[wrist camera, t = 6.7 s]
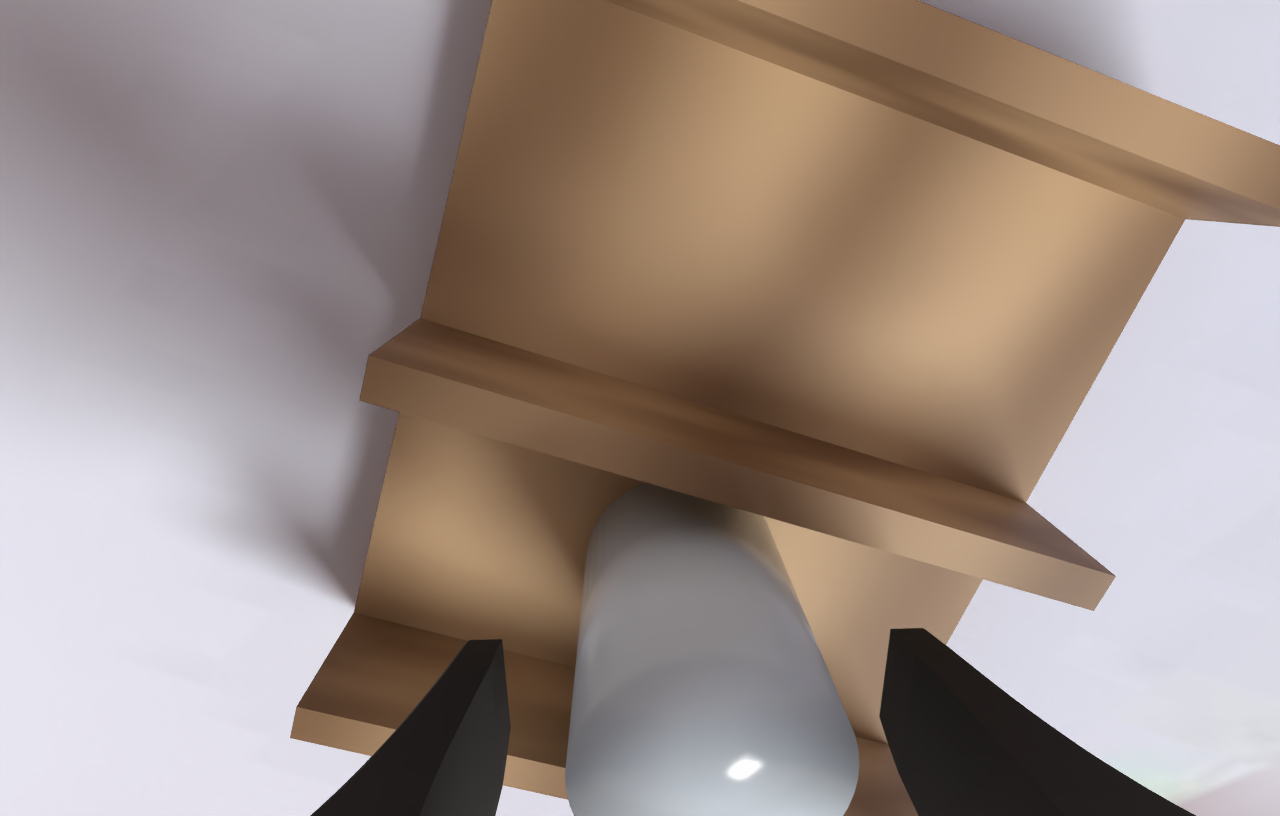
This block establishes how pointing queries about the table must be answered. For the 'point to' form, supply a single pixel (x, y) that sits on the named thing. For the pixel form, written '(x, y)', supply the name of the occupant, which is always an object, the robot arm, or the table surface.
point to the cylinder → (699, 672)
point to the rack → (758, 331)
